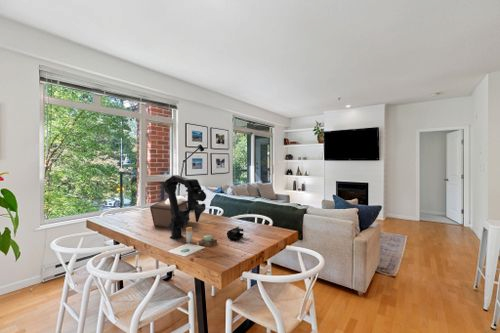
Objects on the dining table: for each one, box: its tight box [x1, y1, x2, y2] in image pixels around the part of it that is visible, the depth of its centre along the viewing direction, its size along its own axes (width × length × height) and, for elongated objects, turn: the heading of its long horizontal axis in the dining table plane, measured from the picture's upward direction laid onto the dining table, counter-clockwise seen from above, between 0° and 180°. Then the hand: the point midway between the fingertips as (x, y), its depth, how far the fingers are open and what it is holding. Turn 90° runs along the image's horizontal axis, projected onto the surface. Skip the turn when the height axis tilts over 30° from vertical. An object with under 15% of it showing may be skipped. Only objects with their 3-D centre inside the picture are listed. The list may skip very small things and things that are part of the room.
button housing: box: [198, 237, 218, 248], centre depth 147 cm, size 8×8×2 cm
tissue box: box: [149, 195, 192, 229], centre depth 195 cm, size 24×28×24 cm
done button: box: [203, 234, 213, 242], centre depth 147 cm, size 5×5×3 cm
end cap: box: [226, 226, 244, 242], centre depth 157 cm, size 10×7×7 cm
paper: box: [166, 243, 206, 258], centre depth 137 cm, size 14×16×1 cm
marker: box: [185, 226, 193, 244], centre depth 150 cm, size 4×4×9 cm
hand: (191, 223), depth 149 cm, fingers open, 9 cm apart
